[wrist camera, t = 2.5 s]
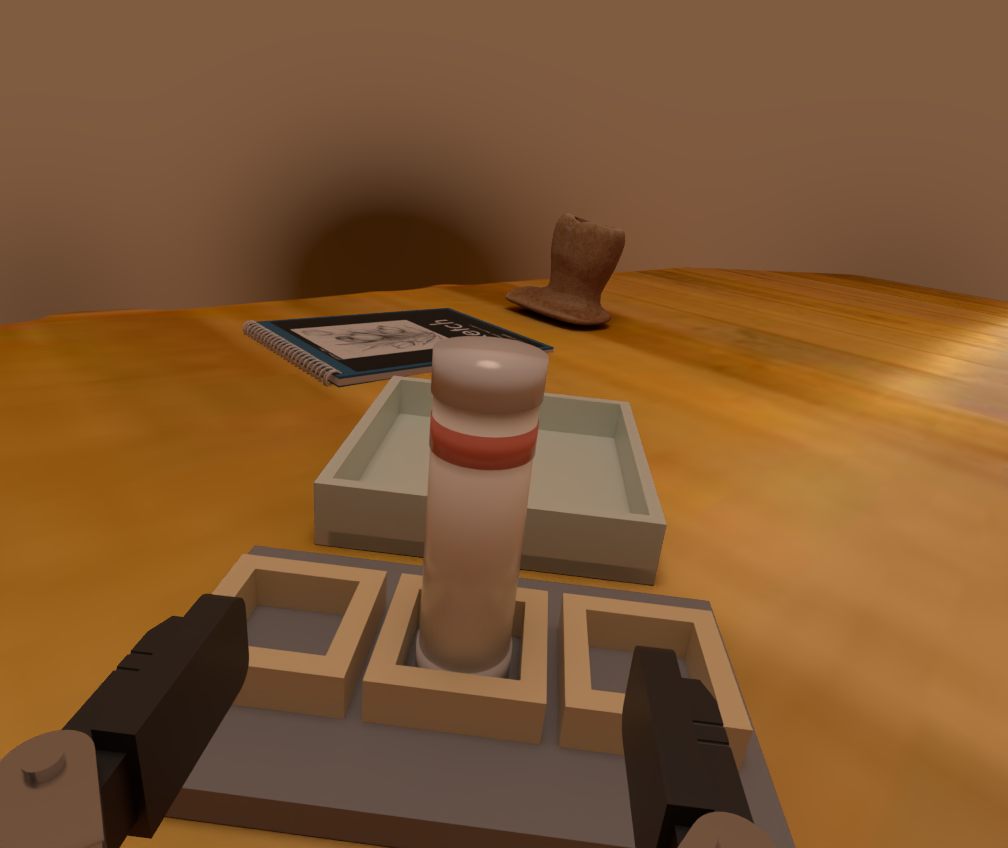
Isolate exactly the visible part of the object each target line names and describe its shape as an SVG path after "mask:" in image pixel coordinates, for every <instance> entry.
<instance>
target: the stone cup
mask: <svg viewBox="0 0 1008 848" xmlns="http://www.w3.org/2000/svg"><path fill="white" fill-rule="evenodd" d="M624 244H625V234H624V231H623V230H622V229H620V228H617V227H613V226H609V225H606V224H602V223H598V222H595V221H591V220H588V219H585V218H582V217H579V216H576V215H573V214H569V213H566V214H564V215H563V216H562V217H561V218H560V219H559V220H558V222H557V224H556V227H555V230H554V233H553V239H552V247H551V278H550V283H549V285H548V286H547V287H543V288H540V287H533V286H526V287H519V288H516V289H513V290H511V291H509V292H508V293H507V294H506V297H505V298H506V299H507V300H508V301H510V302H512V303H514V304H516V305H519V306H521V307H524V308H526V309H528V310H531V311H533V312H536V313H538V314H541V315H544V316H547V317H550V318H553V319H556V320H559V321H563V322H567V323H572V324H578V325H598V324H603V323H606V322H608V321H609V320H610V319H611V316H610V315H609V314H608V313H607V312H606V311H605V310H604V309H603V308H602V307H601V304H600V297H601V293H602V291H603V289H604V287H605V285H606V284H607V282H608V280H609V278H610V277H611V275H612V273H613V271H614V270H615V268H616V265H617V263H618V261H619V259H620V256H621V254H622V251H623V248H624Z"/></svg>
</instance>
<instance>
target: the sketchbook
mask: <svg viewBox="0 0 1008 848" xmlns="http://www.w3.org/2000/svg"><path fill="white" fill-rule="evenodd" d="M247 327H248V330H247ZM246 330H247V332H246ZM243 332H244V334H246V335H247V334H248V336H251V338H254V340H257V341H258V342H260V343H261V344H263V345H264V346H267V348H268V349H269V344H270V350H271V351H274V353H277V355H281V357H284V359H287V360H288V362H291V363H292V364H294V362H295V366H299V368H300V369H303V371H306V372H307V374H311V376H314V375H313V372H315V379H318V378H317V374H318V375H319V381H320V382H322V380H321V377H323V384H326V386H329V384H328V381H329V382H331V383H332V384H334V385H336V386H337V387H343V386H350V385H356V384H362V383H368V382H374V381H380V380H386V379H391V378H392V377H393V376H402V377H404V376H410V375H417V374H423V373H429V372H432V357H433V346H434V345H435V344H436V343H437V342H439V341H441V340H444V339H448V338H453V337H462V336H485V337H497V338H504V339H510V340H515V341H519V342H523V343H527V344H530V345H533V346H535V347H537V348H539V349H541V350H543V351H544V352H545V353H551V352H553V348H554V347H551V346H549V345H546V344H543V343H541V342H538V341H535V340H533V339H530V338H527V337H525V336H522V335H519V334H517V333H514V332H511V331H509V330H506V329H503V328H501V327H498V326H495V325H493V324H490V323H487V322H485V321H482V320H479V319H477V318H474V317H471V316H469V315H466V314H463V313H461V312H458V311H455V310H453V309H450V308H440V309H426V310H412V311H398V312H384V313H371V314H357V315H343V316H329V317H315V318H301V319H288V320H274V321H260V322H255V321H247V322H246V323H245V324H244V325H243ZM249 332H250V333H249ZM252 333H253V334H254V335H252ZM256 336H257V339H256ZM259 338H260V341H259ZM262 340H263V342H262ZM265 342H267V343H266V344H265ZM272 346H273V349H272ZM275 348H276V349H277V350H276V351H277V352H276V351H275ZM279 350H280V354H279ZM282 352H283V353H284V356H283V355H282ZM286 355H288V356H287V358H286ZM289 357H291V361H290V359H289ZM293 359H294V360H295V361H294V362H293ZM297 362H299V363H298V365H297ZM301 364H302V368H301ZM305 367H306V370H305ZM309 369H310V373H309V371H308V370H309Z"/></svg>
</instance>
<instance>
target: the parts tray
mask: <svg viewBox="0 0 1008 848" xmlns="http://www.w3.org/2000/svg"><path fill="white" fill-rule="evenodd" d="M432 407H433V394H432V392H431V380H428V379H420V378H411V377H402V376H393V377H392V378H391V379H390V381H389V382H388V383H387V385H386V386H385V388H384V389H383V390H382V392H381V393H380V394H379V396H378V397H377V398H376V400H375V401H374V402H373V404H372V405H371V406H370V408H369V409H368V410H367V412H366V413H365V414H364V416H363V417H362V419H361V420H360V421H359V423H358V424H357V425H356V427H355V428H354V429H353V431H352V432H351V433H350V435H349V436H348V437H347V439H346V440H345V441H344V443H343V444H342V445H341V447H340V448H339V450H338V451H337V452H336V454H335V455H334V456H333V458H332V459H331V460H330V462H329V463H328V464H327V466H326V467H325V468H324V470H323V471H322V472H321V474H320V475H319V476H318V478H317V479H316V481H315V482H314V524H315V544H318V545H326V546H335V547H343V548H351V549H359V550H368V551H376V552H384V553H392V554H400V555H409V556H417V557H424V544H425V527H426V510H427V493H428V476H429V459H430V447H429V435H430V417H431V410H432ZM538 419H539V428H538V436H537V444H536V452H535V456H534V458H533V465H532V473H531V481H530V489H529V497H528V505H527V513H526V521H525V529H524V538H523V546H522V554H521V562H520V569H524V570H532V571H540V572H549V573H557V574H565V575H573V576H581V577H590V578H598V579H606V580H614V581H623V582H631V583H639V584H647V585H654V580H655V576H656V571H657V566H658V562H659V557H660V553H661V548H662V543H663V539H664V534H665V530H666V525H667V524H666V521H665V518H664V515H663V511H662V508H661V505H660V502H659V498H658V495H657V492H656V489H655V485H654V482H653V479H652V476H651V472H650V469H649V466H648V462H647V459H646V456H645V453H644V449H643V446H642V443H641V440H640V436H639V433H638V430H637V427H636V423H635V420H634V417H633V414H632V410H631V407H630V404H629V402H622V401H613V400H605V399H596V398H587V397H578V396H569V395H560V394H552V393H544V399H543V402H542V404H541V405H540V409H539V417H538Z"/></svg>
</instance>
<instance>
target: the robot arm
mask: <svg viewBox="0 0 1008 848" xmlns="http://www.w3.org/2000/svg"><path fill="white" fill-rule="evenodd" d="M248 666H249V647H248V633H247V618H246V606H245V602H244V600H243V599H242V598H240V597H231V596H223V595H214V594H203V595H202V596H201V597H200V598H199V599H198V600H197V601H196V602H195V604H194V605H193V606H192V607H191V608H190V610H189V611H188V612H187V613H186V614H185V616H184V617H178V616H172V617H170V618H168V619H167V620H165V621H164V622H162V623H160V624H159V625H157V626H156V627H154V628H152V629H151V630H149V631H148V632H147V633H146V634H145V635H144V636H143V638H142V639H141V640H140V641H139V642H138V643H137V644H136V645H135V647H134V648H133V649H132V650H131V653H130V655H127V656H126V657H125V658H124V659H123V660H122V661H121V663H120V664H119V665H118V666H117V669H116V671H113V672H112V673H111V674H110V675H109V676H108V677H107V678H106V680H105V681H104V682H103V683H102V684H101V685H100V686H99V688H98V689H97V690H96V691H95V692H94V693H93V694H92V696H91V697H90V698H89V699H88V700H87V701H86V702H85V704H84V705H83V706H82V707H81V708H80V709H79V710H78V711H77V713H76V714H75V715H74V716H73V717H72V718H71V719H70V721H69V722H68V723H67V724H66V725H65V726H64V727H63V729H62V730H58V731H52V732H48V733H45V734H42V735H39V736H36V737H34V738H32V739H30V740H27V741H25V742H24V743H22V744H20V745H19V746H17V747H16V748H14V749H13V750H12V751H10V752H9V753H8V754H7V755H6V756H5V757H4V758H3V759H2V760H1V761H0V848H120V846H121V844H122V843H123V841H124V840H125V838H126V837H127V835H128V836H136V837H143V838H152V837H153V835H154V833H155V832H156V830H157V828H158V827H159V825H160V823H161V822H162V820H163V818H164V817H165V815H166V813H167V812H168V810H169V808H170V807H171V805H172V803H173V802H174V800H175V798H176V797H177V795H178V793H179V792H180V790H181V788H182V787H183V785H184V783H185V782H186V780H187V779H188V777H189V775H190V774H191V772H192V770H193V769H194V767H195V765H196V764H197V762H198V760H199V759H200V757H201V755H202V754H203V752H204V750H205V749H206V747H207V745H208V744H209V742H210V740H211V739H212V737H213V735H214V734H215V732H216V730H217V729H218V727H219V725H220V724H221V722H222V720H223V719H224V717H225V715H226V714H227V712H228V710H229V709H230V707H231V705H232V704H233V702H234V700H235V699H236V697H237V695H238V694H239V692H240V690H241V688H242V686H243V684H244V681H245V679H246V675H247V671H248ZM723 725H724V723H723V720H722V717H721V714H720V710H719V707H718V704H717V701H716V699H715V698H714V697H713V696H712V694H711V693H710V692H709V691H708V689H707V688H706V687H705V686H704V684H703V683H702V682H701V680H698V679H689V678H682V677H681V673H680V669H679V665H678V661H677V657H676V653H675V651H674V650H672V649H664V648H655V647H647V646H638V645H637V646H636V647H635V649H634V653H633V657H632V662H631V667H630V673H629V678H628V683H627V688H626V693H625V698H624V703H623V711H622V740H623V749H624V757H625V765H626V774H627V782H628V790H629V799H630V807H631V816H632V824H633V832H634V841H635V848H776V846H775V845H774V843H773V842H772V841H771V839H770V838H769V837H768V836H767V835H766V834H765V833H764V832H763V831H762V830H761V829H760V828H759V827H757V826H756V825H755V824H754V821H753V818H752V815H751V812H750V809H749V805H748V802H747V799H746V795H745V792H744V789H743V786H742V782H741V779H740V776H739V773H738V769H737V766H736V763H735V759H734V756H733V753H732V750H731V748H730V747H729V740H728V736H727V733H726V730H725V728H724V727H723Z"/></svg>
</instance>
